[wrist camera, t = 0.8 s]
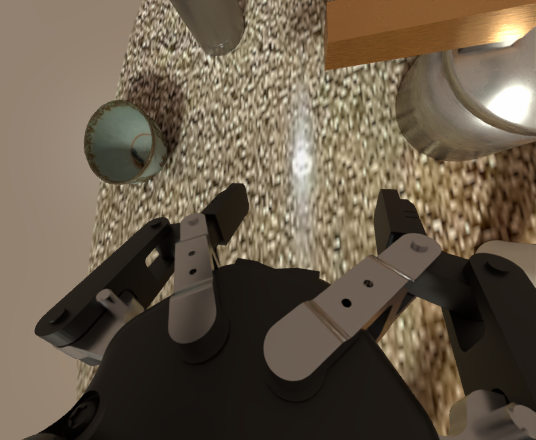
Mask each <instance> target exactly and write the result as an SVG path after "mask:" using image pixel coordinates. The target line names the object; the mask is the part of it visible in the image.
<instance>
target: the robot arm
mask: <svg viewBox="0 0 536 440" xmlns="http://www.w3.org/2000/svg"><path fill="white" fill-rule="evenodd" d="M170 2H171V3H172V5H173V6H174V8H175V9H176V11H177V12H178V14H179V15H180V17H181V18H182V20H183V21H184V23H185V24H186V26H187V27H188V29H189V30H190V32H191V33H192V35H193V36H194V38H195V39H196V41H197V42H198V44H199V45H200V47H201V48H202V49H203V50H204V51H205V52H206V53H208V54H210V55H213V56H221V55H225V54H227V53H229V52H230V51H232V50H233V49H234V48H235V47H236V46H237V45H238V43H239V42H240V40H241V38H242V35H243V32H244V19H243V15H242V12H241V9H240V6H239V3H238V0H170ZM248 210H249V202H248V198H247V193H246V188H245V185H244V184H241V183H232V184H231V185H230V186H229V187H228V188H227V189H226V190H224V191H223V192H221V193H219V194H218V195H217V196H216V197H215V198H214V199H213V200H212V201H211V203H209V205H208V206H207V207H206V208H205V209H204V210H203V211H202V212H201V213H194V214H191V215H188V216H186V217H185V218H184V219H183V220H182V221H181V223H177V224H170V222H169V220H168V219H167V218H165V217H160V218H156V219H153V220H151V221H149V222H148V223H147V224H145V225H144V226H143V227H142V228H141V229H140V230H139V231H138V232H136V233H135V234H134V235H133V236H132V237H131V238H130V239H129V240H128V241H126V242H125V243H124V244H123V245H122V246H121V247H120V248H119V249H117V250H116V251H115V252H114V253H113V254H112V255H111V256H110V257H109V258H107V259H106V260H105V261H104V262H103V263H102V264H101V265H100V266H98V267H97V268H96V269H95V270H94V271H93V272H92V273H91V274H90V275H88V276H87V277H86V278H85V279H84V280H83V281H82V282H81V283H79V284H78V285H77V286H76V287H75V288H74V289H73V290H72V291H71V292H69V293H68V294H67V295H66V296H65V297H64V298H63V299H62V300H61V301H59V302H58V303H57V304H56V305H55V306H54V307H53V308H52V309H50V310H49V311H48V312H47V313H46V314H45V315H44V316H43V317H42V318H41V319H40V320H39V322H38V323H37V325H36V328H35V334H36V335H37V336H39V337H40V338H42V339H44V340H46V341H47V342H49V343H51V344H52V345H53V346H54V347H55V348H57V349H59V350H60V351H62V352H64V353H65V354H67V355H69V356H71V357H73V358H75V359H79V360H81V361H82V362H84V363H86V364H88V365H90V366H96V365H99V364H100V365H99V367H98V369H97V372H96V374H95V375H94V377H93V379H92V381H91V383H90V384H89V386H88V388H87V389H86V391H85V393H84V394H83V396H82V397H81V398H80V399H79V401H78V402H77V403H76V404H75V406H74V407H73V408H72V409H71V410H70V411H69V412H68V413H66V414H65V415H64V416H63V417H62V418H60V419H59V420H58V421H56V422H55V423H54V424H52V425H51V426H49V427H48V428H46V429H45V430H43V431H41V432H39V433H38V434H36V435H32V436H30V437H27V438H25V439H23V440H536V288H535V286H534V285H533V283H532V282H531V280H530V279H529V278H528V276H527V275H526V273H525V272H524V271H523V269H522V268H520V267H519V266H518V265H517V264H515V263H514V262H512V261H510V260H508V259H506V258H504V257H501V256H498V255H495V254H490V253H476V254H474V255H472V256H471V257H470V259H469V260H468V259H465V258H461V257H458V256H455V255H451V254H448V253H446V252H443V251H442V250H441V246H440V245H439V244H438V243H437V242H436V241H435V240H434V239H432V238H430V237H428V236H427V235H426V233H425V230H424V228H423V225H422V223H421V220H420V219H419V215H418V213H417V210H416V208H415V206H414V205H413V204H412V203H411V202H410V201H409V200H407V199H400V197H399V194H398V191H397V190H395V189H381V190H380V192H379V196H378V200H377V205H376V209H375V214H374V230H375V238H376V246H377V254H378V256H377V257H375V256H373V255H369V256H367V257H366V258H364V259H363V260H362V261H361V262H359V263H358V264H357V265H356V266H354V267H353V268H352V269H351V270H349V271H348V272H347V273H346V274H344V275H343V276H342V277H341V278H339V279H338V280H337V281H336V282H334V283H333V284H332V285H331V284H329V283H328V282H326V281H324V280H322V279H319V274H320V272H319V271H313V270H307V269H301V268H283V269H274V268H271V267H269V266H266V265H264V264H262V263H259V262H257V261H253V260H247V259H240V258H237V260H236V262H235V264H230V265H225V266H221V262H220V257H219V252H218V249H217V246H218V244H219V245H227V243H228V242H229V240H230V239H231V237H232V236H233V234H234V233H235V231H236V230H237V228H238V227H239V225H240V224H241V222H242V220H243V219H244V217H245V216H246V214H247V213H248ZM154 248H156V250H157V251H158V253H159V256H158V257H157V258H156V259H155V260H154V262H153V263H152V264H151V265H150V266H149V267H147V266H146V264H145V260H146V257H147V256H148V255H149V254H150V253H151V252H152V251H153V249H154ZM173 273H174V293H173V294H172V295H171V296H169V297H167V298H166V299H164V300H162V301H161V302H159V303H157V304H156V305H154V306H152V307H151V308H149V309H147V308H148V307H149V305H150V304H151V302H152V301H153V300H154V298H155V297H156V296H157V294H158V293H159V292H160V290H161V289H162V288H163V286H164V285H165V284H166V282H167V281H168V280H169V278H170V277H171V275H172V274H173ZM416 297H420V298H422V299H424V300H427V301H429V302H431V303H434V304H436V305H439V306H441V308H442V312H443V316H444V320H445V323H446V327H447V331H448V334H449V338H450V342H451V345H452V349H453V353H454V356H455V360H456V364H457V367H458V371H459V375H460V379H461V382H462V386H463V390H464V393H465V397H464V398H462V399H461V400H459V401H457V402H456V403H454V404H453V405H452V407H451V409H450V413H449V419H450V430H449V433H448V436H441V435H438V433H437V431H436V429H435V427H434V425H433V423H432V421H431V419H430V418H429V416H428V414H427V413H426V411H425V410H424V408H423V407H422V405H421V404H420V402H419V401H418V400H417V398H416V397H415V396H414V394H413V393H412V391H411V390H410V389H409V387H408V386H407V384H406V383H405V382H404V380H403V379H402V377H401V376H400V375H399V373H398V372H397V370H396V369H395V368H394V366H393V365H392V363H391V362H390V361H389V359H388V358H387V356H386V355H385V354H384V352H383V351H382V349H381V348H380V347H379V345H378V344H377V343H378V342H379V340H380V339H381V338H382V337H383V336H384V335H385V333H386V332H387V331H388V329H389V328H390V326H391V325H392V323H393V322H394V321H395V320H396V319H397V318H398V317H399V315H400V314H401V313H402V312H403V311H404V310H405V309H406V308H407V307H408V306H409V305H410V303H411V302H412V301H413V300H414V299H415V298H416ZM146 309H147V310H146Z"/></svg>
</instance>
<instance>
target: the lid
mask: <svg viewBox="0 0 536 440" xmlns="http://www.w3.org/2000/svg"><path fill="white" fill-rule="evenodd" d="M440 51H442V61H443V67H444V72H445V76H446V78H447V81H448V83H449V86H450V88H451V90H452V91H453V93H454V95H455V96H456V98H457V99H458V100H459V101H460V103H461V104H462V105H463V106H464V107H465V108H466V109H467V110H468V111H469V112H470V113H472V114H473V115H474V116H475V117H477V118H478V119H480V120H481V121H483V122H485V123H487V124H489V125H491V126H493V127H495V128H497V129H500V130H503V131H507V132H510V133H514V134H519V135H525V136H536V0H334V1H330V2H327V8H326V19H325V30H324V64H325V70H331V69H338V68H344V67H350V66H356V65H362V64H368V63H374V62H380V61H386V60H392V59H398V58H404V57H410V56H416V55H422V54H428V53H434V52H440Z"/></svg>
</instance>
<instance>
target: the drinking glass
mask: <svg viewBox="0 0 536 440" xmlns="http://www.w3.org/2000/svg"><path fill="white" fill-rule="evenodd" d="M476 253H490V254H495V255H498V256H501V257H504V258H506V259H508V260H510V261H512V262H514V263H515V264H517V265H518V266H519V267H520V268H522V269H523V271H524V272H525V273H526V275H527V276H528V278H529V279H530V280H531V282H532V283H533V285H534V286H535V288H536V244H530V243H518V242H509V241H502V240H492V241H488V242H486V243H484V244H482V245H481V246H480V247H479V248H478V249H477V251H476ZM476 253H475V254H476Z"/></svg>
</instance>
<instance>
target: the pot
mask: <svg viewBox="0 0 536 440" xmlns="http://www.w3.org/2000/svg"><path fill="white" fill-rule="evenodd" d="M395 108H396V118H397V123H398V126H399V128H400V130H401V132H402V134H403V136H404V137H405V139H406V140H407V141H408V142H409V143H410V144H411V145H412V146H413V147H414V148H415V149H417V150H418V151H419V152H421V153H423V154H425V155H427V156H429V157H432V158H435V159H438V160H443V161H454V162H459V161H469V160H473V159H478V158H481V157H484V156H488V155H491V154H495V153H498V152H501V151H505V150H508V149H511V148H515V147H518V146H521V145H525V144H528V143H532V142H535V141H536V136H525V135H519V134H514V133H510V132H507V131H503V130H500V129H497V128H495V127H493V126H491V125H489V124H487V123H485V122H483V121H481V120H480V119H478V118H477V117H475V116H474V115H473V114H472V113H470V112H469V111H468V110H467V109H466V108H465V107H464V106H463V105H462V104H461V103H460V101H459V100H458V99H457V98H456V96H455V95H454V93H453V91H452V90H451V88H450V86H449V83H448V81H447V78H446V76H445V72H444V67H443V61H442V51H440V52H434V53H428V54H422V55H420V56H419V57H418V58H417V60H416V61H415V62H414V64H413V65H412V67H411V68H410V69H409V71H408V72H407V74H406V75H405V77H404V79H403V80H402V82H401V85H400V87H399V90H398V93H397V97H396V106H395Z"/></svg>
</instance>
